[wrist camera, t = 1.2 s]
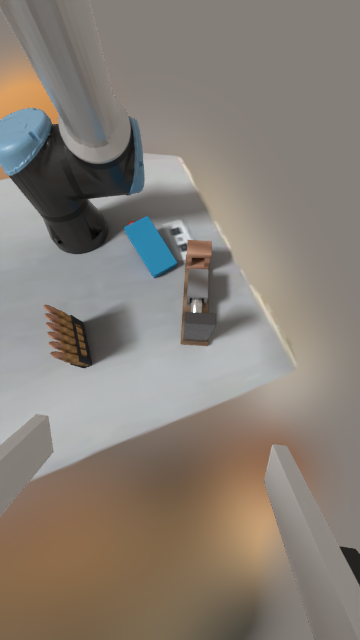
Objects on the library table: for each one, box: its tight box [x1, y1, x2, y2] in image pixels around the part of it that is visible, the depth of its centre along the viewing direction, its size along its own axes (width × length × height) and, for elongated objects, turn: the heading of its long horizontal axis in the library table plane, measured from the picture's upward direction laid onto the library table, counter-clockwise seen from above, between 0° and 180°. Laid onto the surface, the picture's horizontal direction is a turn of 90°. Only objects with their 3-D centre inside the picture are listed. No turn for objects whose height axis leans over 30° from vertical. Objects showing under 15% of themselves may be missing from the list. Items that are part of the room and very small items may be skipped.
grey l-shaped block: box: [183, 298, 216, 342], centre depth 37 cm, size 16×5×12 cm, turn 176°
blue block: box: [124, 216, 177, 278], centre depth 49 cm, size 7×7×18 cm
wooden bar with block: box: [181, 240, 212, 346], centre depth 42 cm, size 24×6×7 cm, turn 176°
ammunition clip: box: [44, 305, 92, 368], centre depth 36 cm, size 11×2×12 cm, turn 21°
